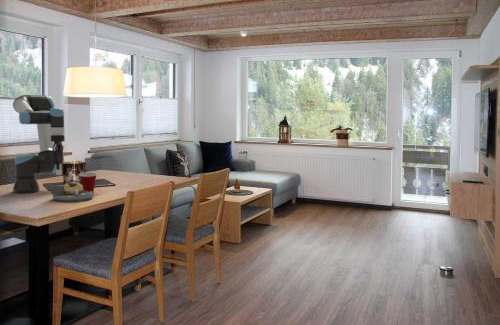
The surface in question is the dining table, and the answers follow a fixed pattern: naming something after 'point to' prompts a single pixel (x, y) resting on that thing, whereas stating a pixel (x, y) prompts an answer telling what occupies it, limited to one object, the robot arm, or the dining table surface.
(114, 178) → the dining table surface
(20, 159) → the robot arm
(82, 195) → the base plate
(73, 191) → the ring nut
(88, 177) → the plastic cup
